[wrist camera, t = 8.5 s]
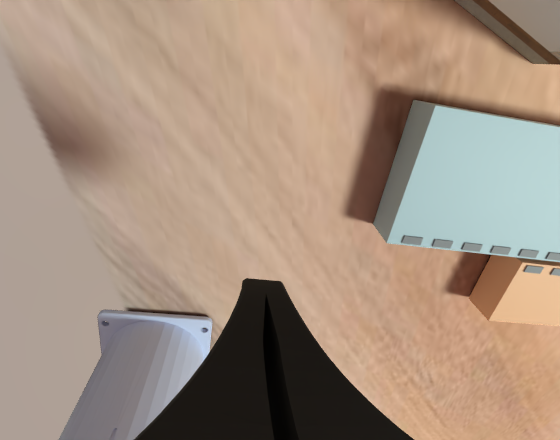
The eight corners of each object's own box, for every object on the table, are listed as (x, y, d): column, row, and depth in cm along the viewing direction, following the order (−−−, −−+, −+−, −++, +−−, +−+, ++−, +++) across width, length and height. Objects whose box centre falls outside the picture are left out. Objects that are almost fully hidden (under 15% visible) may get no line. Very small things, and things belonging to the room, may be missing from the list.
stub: (578, 308, 27) (608, 330, 24) (468, 298, 25) (489, 321, 23) (615, 257, 24) (651, 277, 22) (497, 243, 23) (523, 263, 21)
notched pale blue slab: (541, 244, 24) (573, 264, 21) (373, 224, 22) (387, 243, 19) (607, 133, 20) (653, 143, 18) (413, 99, 18) (436, 105, 16)
